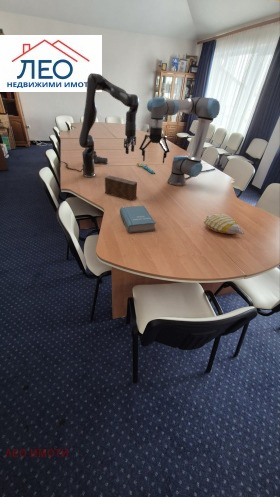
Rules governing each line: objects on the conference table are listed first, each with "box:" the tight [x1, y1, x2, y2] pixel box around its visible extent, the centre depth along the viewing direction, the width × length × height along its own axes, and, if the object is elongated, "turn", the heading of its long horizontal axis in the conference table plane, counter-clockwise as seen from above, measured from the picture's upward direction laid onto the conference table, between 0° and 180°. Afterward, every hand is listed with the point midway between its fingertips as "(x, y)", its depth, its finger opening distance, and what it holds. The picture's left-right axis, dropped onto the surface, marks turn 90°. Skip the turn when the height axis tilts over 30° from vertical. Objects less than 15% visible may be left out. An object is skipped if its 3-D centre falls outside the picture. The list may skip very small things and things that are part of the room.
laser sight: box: [93, 150, 108, 165], centre depth 230 cm, size 10×22×10 cm, turn 78°
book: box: [119, 205, 156, 233], centre depth 136 cm, size 23×16×5 cm
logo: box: [137, 162, 156, 175], centre depth 227 cm, size 34×10×1 cm, turn 16°
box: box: [104, 175, 138, 201], centre depth 165 cm, size 24×6×12 cm, turn 62°
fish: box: [203, 213, 245, 235], centre depth 133 cm, size 25×8×20 cm
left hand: (129, 152), depth 166 cm, fingers open, 8 cm apart
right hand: (153, 161), depth 152 cm, fingers open, 13 cm apart
